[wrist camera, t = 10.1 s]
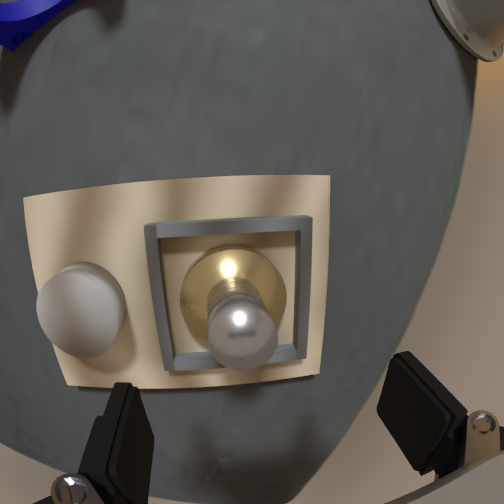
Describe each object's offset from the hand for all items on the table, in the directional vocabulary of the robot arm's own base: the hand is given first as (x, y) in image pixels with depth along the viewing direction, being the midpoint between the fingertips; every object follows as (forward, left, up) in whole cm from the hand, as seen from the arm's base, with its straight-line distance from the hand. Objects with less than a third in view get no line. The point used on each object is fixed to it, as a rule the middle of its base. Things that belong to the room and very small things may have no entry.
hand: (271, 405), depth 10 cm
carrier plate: (+4, 0, -13) cm, 14 cm away
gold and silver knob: (0, 0, -12) cm, 12 cm away
